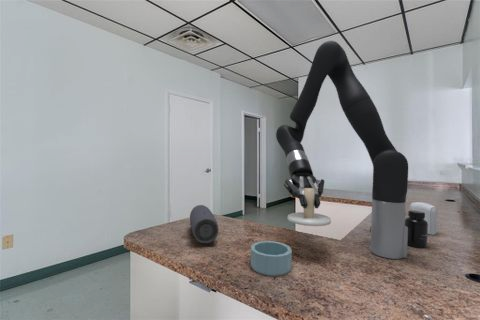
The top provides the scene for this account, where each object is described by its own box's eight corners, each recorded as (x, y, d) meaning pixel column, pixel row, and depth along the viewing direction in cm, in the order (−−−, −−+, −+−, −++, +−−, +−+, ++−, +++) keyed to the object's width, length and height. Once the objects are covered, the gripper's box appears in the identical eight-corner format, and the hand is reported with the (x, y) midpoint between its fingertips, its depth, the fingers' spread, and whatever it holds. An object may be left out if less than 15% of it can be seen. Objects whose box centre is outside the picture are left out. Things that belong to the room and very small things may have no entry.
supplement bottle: (428, 250, 83) (429, 214, 83) (404, 245, 87) (405, 212, 86) (425, 244, 89) (427, 211, 89) (403, 240, 92) (404, 208, 92)
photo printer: (407, 228, 109) (408, 200, 109) (415, 227, 110) (416, 200, 110) (429, 235, 99) (431, 205, 99) (438, 235, 100) (439, 205, 100)
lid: (324, 216, 82) (325, 186, 82) (336, 227, 70) (337, 192, 69) (285, 214, 84) (286, 185, 83) (290, 225, 71) (290, 190, 70)
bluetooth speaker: (220, 246, 81) (220, 216, 81) (191, 248, 79) (192, 217, 79) (211, 226, 103) (211, 203, 103) (188, 227, 101) (189, 203, 101)
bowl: (288, 258, 73) (288, 242, 73) (293, 277, 62) (294, 257, 62) (251, 256, 73) (251, 240, 73) (250, 274, 62) (250, 255, 62)
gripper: (281, 157, 83) (292, 200, 71) (321, 158, 84) (338, 199, 72) (277, 172, 88) (286, 213, 76) (314, 172, 90) (329, 213, 78)
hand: (311, 206), depth 74 cm, fingers closed on lid, 3 cm apart
